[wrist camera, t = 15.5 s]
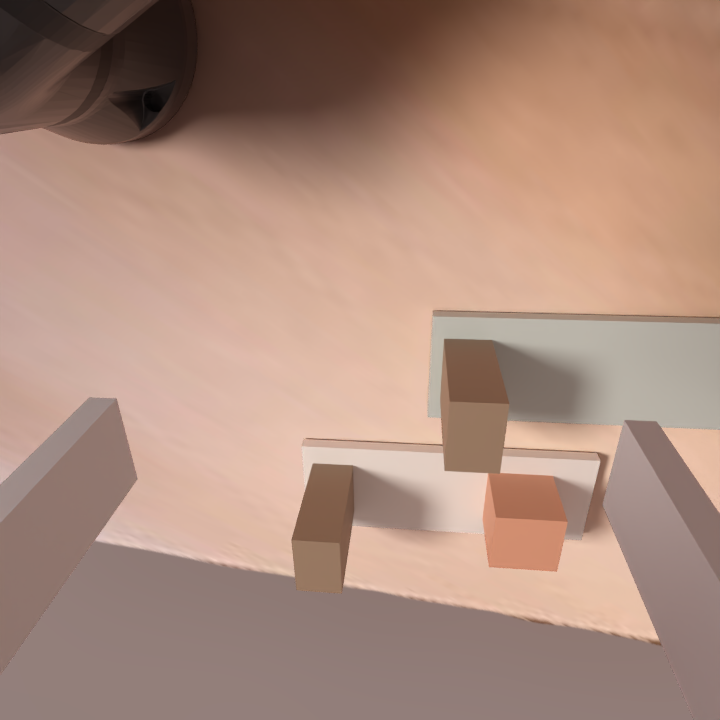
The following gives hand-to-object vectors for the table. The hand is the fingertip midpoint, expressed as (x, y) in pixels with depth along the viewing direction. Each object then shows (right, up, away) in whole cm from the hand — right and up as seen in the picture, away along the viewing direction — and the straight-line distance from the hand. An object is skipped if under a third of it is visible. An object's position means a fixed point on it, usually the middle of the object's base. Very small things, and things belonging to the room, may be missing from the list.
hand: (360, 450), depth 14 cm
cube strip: (+8, -10, +40) cm, 43 cm away
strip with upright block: (+20, +2, +33) cm, 39 cm away
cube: (+15, -11, +39) cm, 43 cm away
